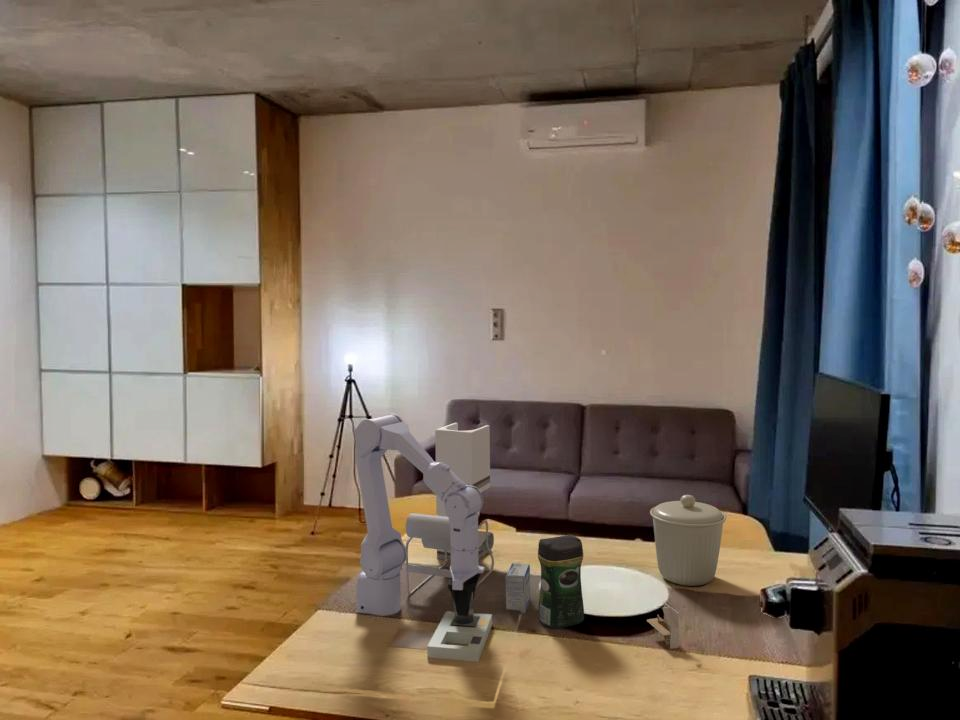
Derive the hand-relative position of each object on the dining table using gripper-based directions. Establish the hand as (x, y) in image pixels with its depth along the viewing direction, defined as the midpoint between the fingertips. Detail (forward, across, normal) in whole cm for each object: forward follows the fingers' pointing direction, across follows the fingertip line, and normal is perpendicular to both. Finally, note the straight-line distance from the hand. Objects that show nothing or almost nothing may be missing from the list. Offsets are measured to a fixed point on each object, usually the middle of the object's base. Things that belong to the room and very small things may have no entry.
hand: (465, 610), depth 152 cm
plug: (+2, 0, 0) cm, 2 cm away
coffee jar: (+6, +10, -19) cm, 22 cm away
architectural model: (+6, +4, -41) cm, 42 cm away
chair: (+6, +27, +9) cm, 29 cm away
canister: (+6, +39, -48) cm, 62 cm away
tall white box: (+6, +47, +10) cm, 48 cm away
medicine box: (+6, +16, -9) cm, 19 cm away
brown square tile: (+5, -5, +10) cm, 12 cm away
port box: (+5, -4, 0) cm, 7 cm away
